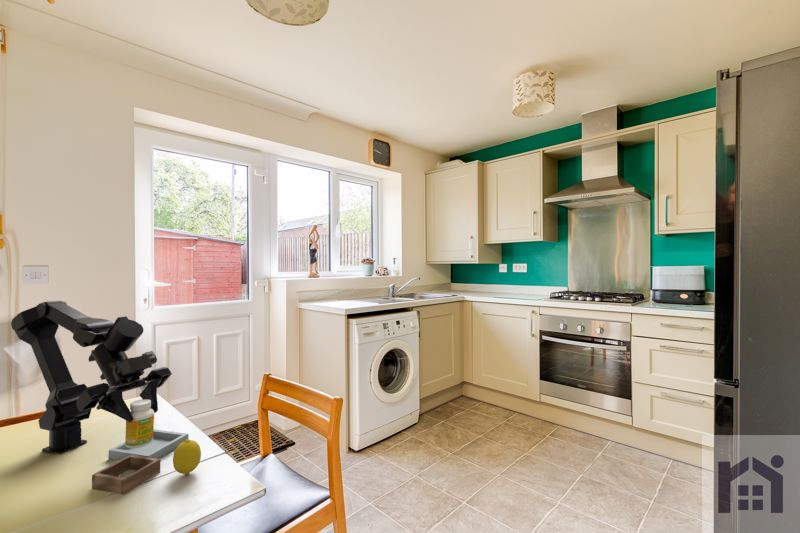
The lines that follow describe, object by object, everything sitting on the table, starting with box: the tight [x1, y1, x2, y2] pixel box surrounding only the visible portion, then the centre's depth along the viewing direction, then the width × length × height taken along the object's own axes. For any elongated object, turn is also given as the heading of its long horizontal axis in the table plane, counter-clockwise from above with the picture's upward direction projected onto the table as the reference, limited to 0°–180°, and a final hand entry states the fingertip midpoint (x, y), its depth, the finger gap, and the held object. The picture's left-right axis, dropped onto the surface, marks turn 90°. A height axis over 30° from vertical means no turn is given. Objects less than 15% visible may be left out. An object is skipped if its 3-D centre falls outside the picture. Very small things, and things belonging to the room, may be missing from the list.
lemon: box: [172, 438, 202, 476], centre depth 82 cm, size 6×6×8 cm
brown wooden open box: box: [91, 455, 161, 496], centre depth 80 cm, size 9×9×3 cm
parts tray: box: [108, 428, 189, 462], centre depth 93 cm, size 12×12×2 cm
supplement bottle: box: [125, 399, 155, 448], centre depth 85 cm, size 5×5×10 cm
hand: (144, 416), depth 85 cm, fingers closed on supplement bottle, 5 cm apart
